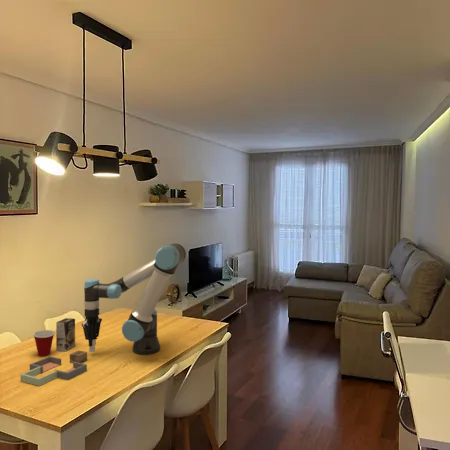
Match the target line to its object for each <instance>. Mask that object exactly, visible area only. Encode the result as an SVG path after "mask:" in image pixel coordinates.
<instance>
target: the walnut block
mask: <svg viewBox="0 0 450 450" xmlns="http://www.w3.org/2000/svg"><path fill="white" fill-rule="evenodd" d="M87 361H88V351H84V350H80V349H79V350H76V351H74V352H71V353H69V363H71V364H73V362H78V363H82V364H84V363H85V362H87Z"/></svg>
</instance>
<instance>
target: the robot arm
mask: <svg viewBox="0 0 450 450" xmlns="http://www.w3.org/2000/svg"><path fill="white" fill-rule="evenodd" d="M186 256H187V251H186V249H185V247H184V246H182V244H179V243H171V244H165V245H163V246H161V247H160V248H158V250H157V251H156V253H155V256H154V259H152V260H150V261H149V262H146V263H145V264H142V266H140V267H138V268H135V270H133V271H131V272H129V273H127V274H126V275H124V276H122V277H120V278H119V279H117V280H115V281H113V282H110V283H100V280H99V279H98V278H89V279H85V281H84V284H83V290H84V317H85V319H84V322H83V323H81V327H82V329H83V334H84V339H85V340H86V341H88V349H89V350H88V352H89V353H95V352H96V344H97V343H96V340H98V337H99V336H100V330H101V323H102V321H103V319H102V318H101V317H99V315H100V299H111V300H112V299H116V300H117V299H119V298H120V296H122V294H123V293H125V292H127V291H128V290H130V289H131V288H133V287H135V286H137V285H138V284H140V283H142V282H144V281H145V280H147V279H149V280H148V283H147V285H146V287H145V289H144V292H143V294H142V295H141V298H140V300H139V302H138V304H137V306H136V308H135V309H133V310H131V313H130V314H129V317H128V319H127V320H126V321H125V322H124V323H123V324H122V327H121V333H122V335H123V337H124V338H125V340H127V341H129V342H133V344H132V352H133V353H135V354H138V355H152V354H155V353H158V352H159V351H160V350H161V344H160V341H159V338H158V311H157V310H156V306H157V304H158V303H159V300H160V298H161V296H162V294H163V291H164V290H165V288H166V285H167V283H168V281H169V279H170V277H171V276H174V275H175V273H176V271H177V269H178V267H179V265H181V264H183V262H184V261H186Z"/></svg>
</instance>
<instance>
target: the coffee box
mask: <svg viewBox="0 0 450 450" xmlns="http://www.w3.org/2000/svg"><path fill="white" fill-rule="evenodd" d="M55 326H56V328H55V331H56V332H55V334H56V336H55V337H56V338H55V339H56V343H55V345H56V347H55V348H56V351H57V352H68V351H69V350H71V349H73V348H74V347H76V318H71V317H70V318H66V317H65V318H63V319H61V320H59V321H56V322H55Z"/></svg>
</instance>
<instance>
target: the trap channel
mask: <svg viewBox="0 0 450 450" xmlns="http://www.w3.org/2000/svg"><path fill="white" fill-rule="evenodd" d="M59 366H62V358H60V357H55V356H52V355H51V356H50V355H48V356H46V357H45V358H42V359H39V360H36V361H35V362H31V363H30V364H29V370H28V371H25V372H23V373H21V374H20V382H23V383H25V384H26V383H27V384H30V385H34V386H37V387H41V386H42V385H44V384H46V383H49V382H51V381H53V380H56V379H57V378H58V379H61V380H65V381H68V380H70V379H72V378H74V377H78V375H81V374H83V373H85V372H86V371H87V372H88V370H87V369H88V368H87V367H88V364H87V363H78V362H73V363H72V367H71V368H69V369H67V370H65V371H63V370H58V369H55V368H56V367H59ZM52 369H55V370H54V371H51V372H50V373H48V374H45V375H43V376H40V377H36V376H38V375H40V374H43V373H46V372H48V371H50V370H52Z"/></svg>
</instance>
